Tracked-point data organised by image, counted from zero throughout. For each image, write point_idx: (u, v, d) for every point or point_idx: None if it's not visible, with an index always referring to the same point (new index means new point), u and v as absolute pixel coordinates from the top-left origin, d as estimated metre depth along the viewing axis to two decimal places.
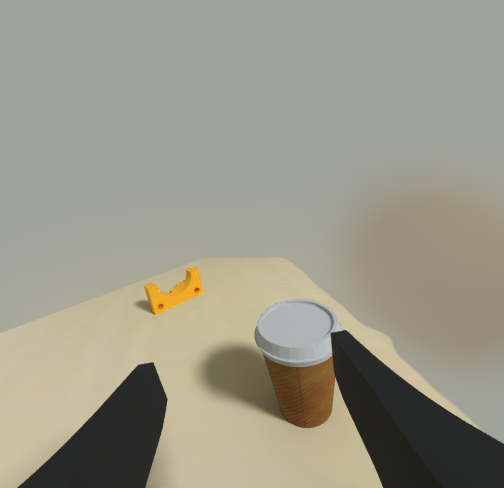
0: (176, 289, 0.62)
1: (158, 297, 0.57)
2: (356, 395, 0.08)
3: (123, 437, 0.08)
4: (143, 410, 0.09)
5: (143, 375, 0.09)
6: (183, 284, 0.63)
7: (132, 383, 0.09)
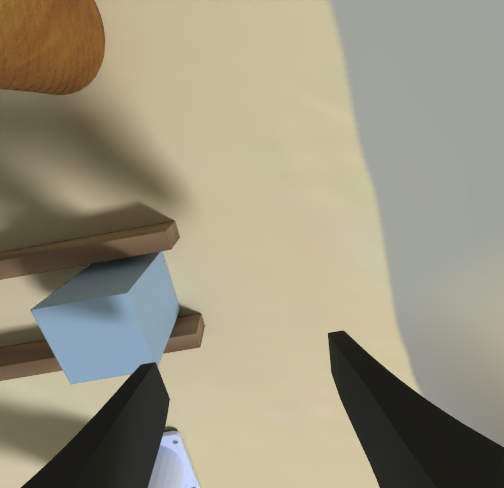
0: None
1: None
2: (353, 395, 0.08)
3: (126, 436, 0.08)
4: (146, 409, 0.09)
5: (146, 374, 0.09)
6: None
7: (135, 382, 0.09)
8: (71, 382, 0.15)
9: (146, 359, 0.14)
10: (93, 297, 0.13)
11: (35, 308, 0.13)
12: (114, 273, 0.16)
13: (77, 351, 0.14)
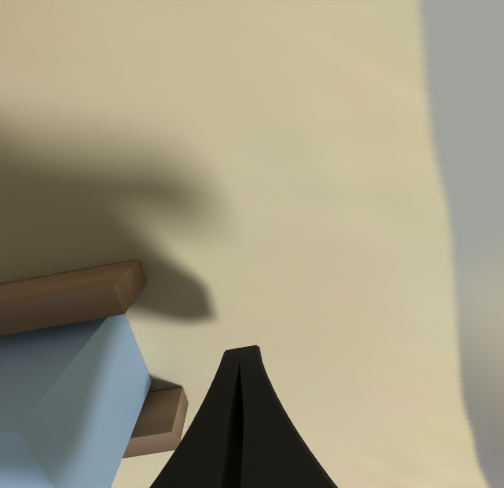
0: None
1: None
2: None
3: (238, 419, 0.08)
4: None
5: (239, 359, 0.09)
6: None
7: (232, 366, 0.09)
8: None
9: None
10: None
11: None
12: (28, 355, 0.10)
13: None
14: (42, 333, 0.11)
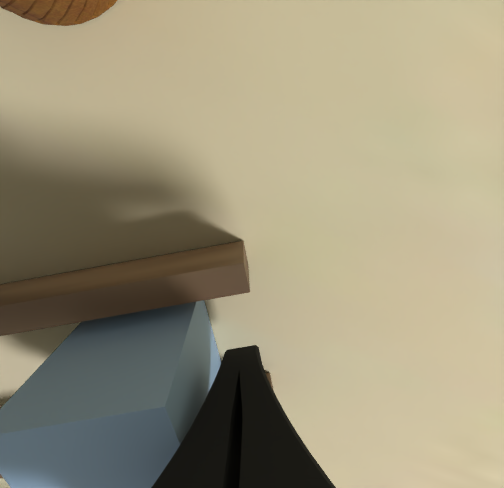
0: None
1: None
2: None
3: (239, 418, 0.08)
4: None
5: (240, 359, 0.09)
6: None
7: (233, 366, 0.09)
8: None
9: None
10: (97, 412, 0.07)
11: None
12: (131, 337, 0.09)
13: None
14: (133, 317, 0.11)
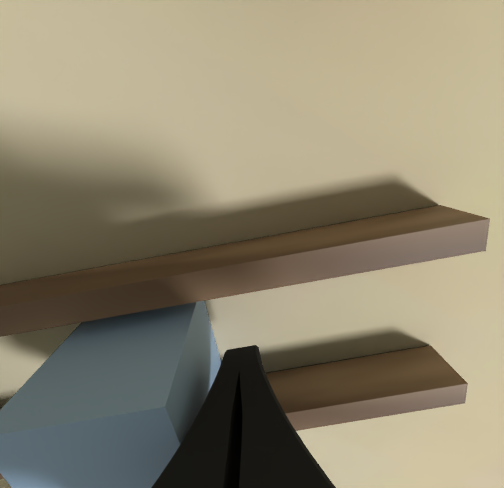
0: None
1: None
2: None
3: (239, 418, 0.08)
4: None
5: (240, 359, 0.09)
6: None
7: (233, 366, 0.09)
8: None
9: None
10: (98, 413, 0.07)
11: None
12: (131, 338, 0.09)
13: None
14: (133, 318, 0.11)
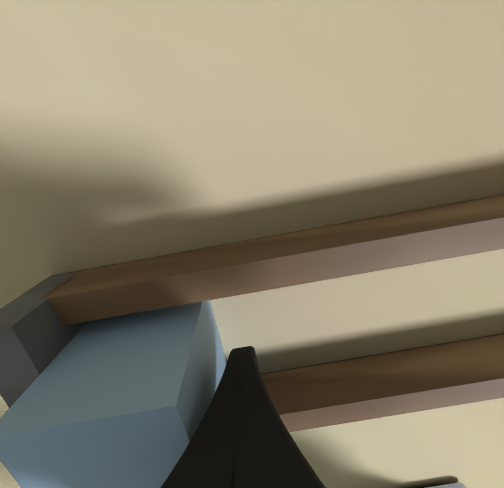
0: None
1: None
2: None
3: None
4: None
5: (246, 358, 0.09)
6: None
7: (239, 365, 0.09)
8: None
9: None
10: (108, 412, 0.07)
11: None
12: (138, 337, 0.09)
13: None
14: (139, 317, 0.11)
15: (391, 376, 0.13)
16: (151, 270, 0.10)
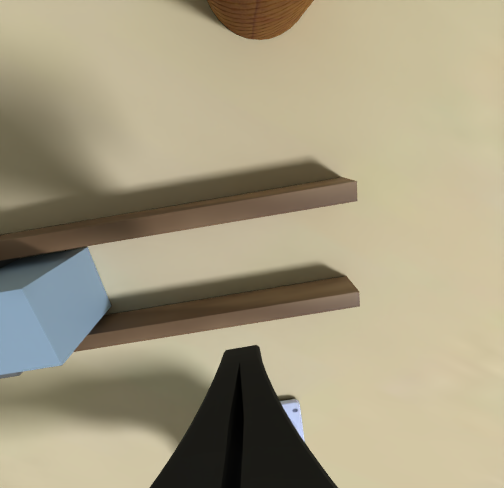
0: None
1: None
2: None
3: (237, 419, 0.08)
4: None
5: (239, 359, 0.09)
6: None
7: (232, 366, 0.09)
8: None
9: (50, 354, 0.15)
10: None
11: None
12: (27, 269, 0.16)
13: None
14: (36, 261, 0.17)
15: (209, 307, 0.19)
16: (39, 232, 0.17)
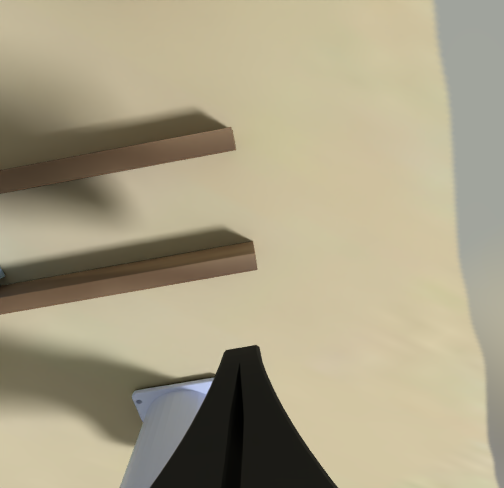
0: None
1: None
2: None
3: (237, 419, 0.08)
4: None
5: (239, 359, 0.09)
6: None
7: (232, 366, 0.09)
8: None
9: None
10: None
11: None
12: None
13: None
14: None
15: (102, 274, 0.18)
16: None
